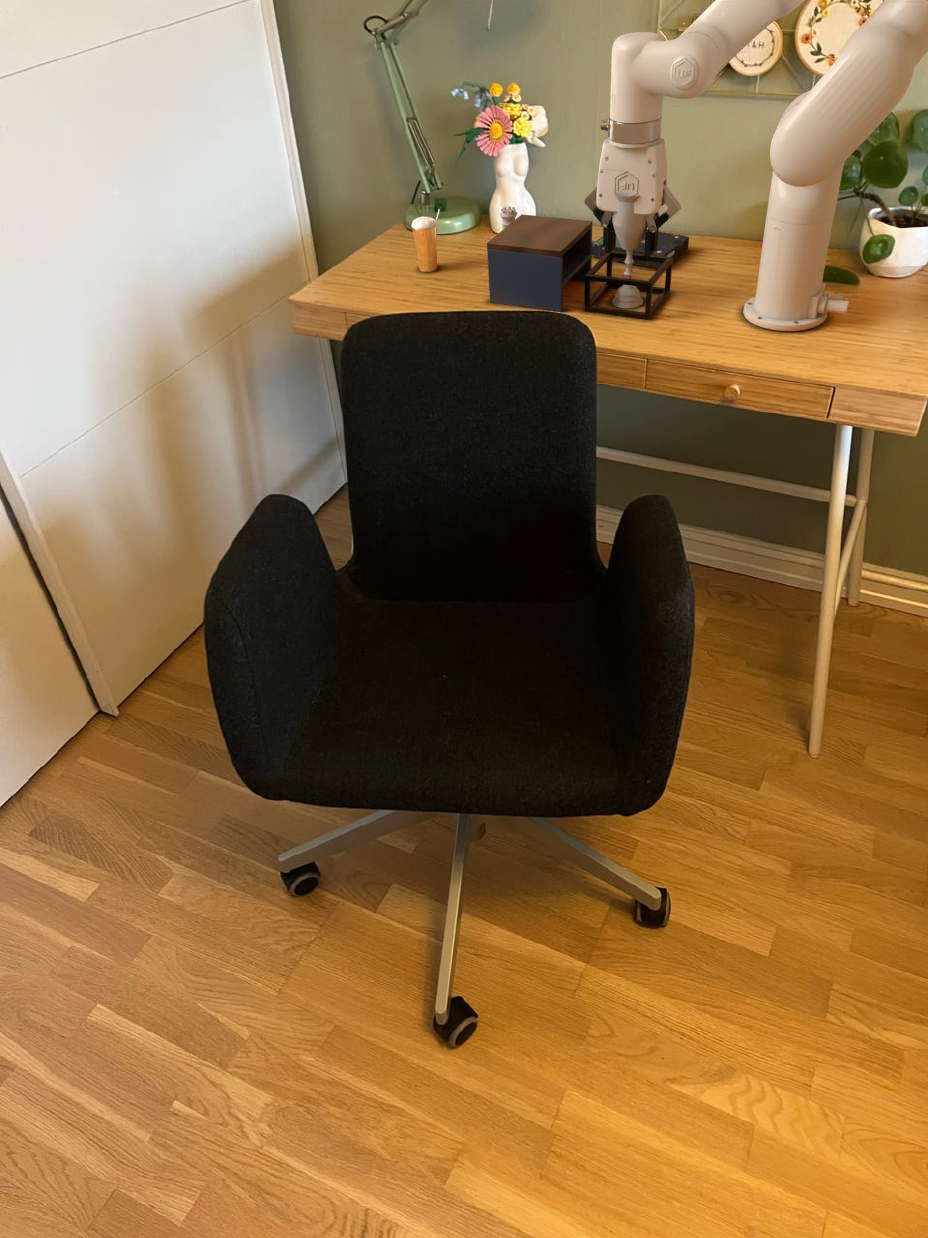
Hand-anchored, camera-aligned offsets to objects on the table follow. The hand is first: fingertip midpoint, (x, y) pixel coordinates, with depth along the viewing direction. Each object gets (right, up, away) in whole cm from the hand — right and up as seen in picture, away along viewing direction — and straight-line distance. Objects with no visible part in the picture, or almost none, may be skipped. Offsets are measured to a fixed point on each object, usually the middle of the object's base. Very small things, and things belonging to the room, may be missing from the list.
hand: (629, 251), depth 154 cm
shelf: (-13, -2, +11) cm, 18 cm away
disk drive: (+5, +7, +21) cm, 23 cm away
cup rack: (+1, -6, +5) cm, 8 cm away
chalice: (+1, -6, +6) cm, 9 cm away
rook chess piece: (-18, +9, +26) cm, 33 cm away
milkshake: (-33, +5, +23) cm, 40 cm away
